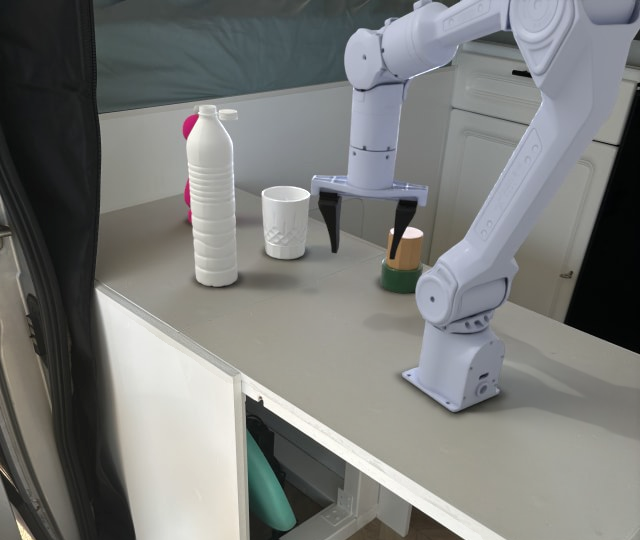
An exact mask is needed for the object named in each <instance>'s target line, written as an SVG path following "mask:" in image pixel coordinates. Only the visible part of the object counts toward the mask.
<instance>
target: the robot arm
mask: <svg viewBox="0 0 640 540" xmlns="http://www.w3.org/2000/svg"><path fill="white" fill-rule="evenodd" d="M501 31H503V32H512V34H513V38H514V40H515V42H516V44H517V46H518V48H519V51H520V54H521V56H522V58H523V60H524V63H525V64H526V66H527V69H528V71H529V74H530V75H531V78H532V80H533V82H534V84H535V85H534V86H535V87H536V88H537V89H538V91H540V95H541V98H542V99H541V100H542V101H541V104H540V106H539V107H538V109H537V112H536V113H535V115H534V116H533V118H532V119H531V122H530V123H529V125H528V127H527V128H526V131H525V132H524V134H523V136H522V137H521V139H520V141H519V142H518V144H517V146H516V147H515V149H514V151H513V153H512V154H511V156H510V158H509V159H508V162H507V163H506V165H505V167H504V168H503V170H502V172H501V174H500V175H499V177H498V179H497V181H496V183H495V184H494V186H493V187H492V189H491V191H490V193H489V194H488V196H487V198H486V199H485V201H484V203H483V204H482V206H481V208H480V209H479V211H478V213H477V215H476V216H475V219H474V220H473V222H472V223H471V225H470V227H469V229H468V230H467V232H466V234H465V236H464V237H463V239H461V240H460V241H459V242H458V243H456V244H455V245H454V246H452V247H451V248H449V249H448V250H447V251H446V252H444V253H443V254H442V255H440V256H439V257H438V259H437V261H435V264H434V265H433V266H432V267H431V268H430V269H428V270H426V271H424V272H422V275H421V276H420V278H419V280H418V282H417V285H416V291H415V303H416V306H417V309H418V311H419V313H420V314H421V318H422V319H423V320H425V323H424V329H423V336H422V341H421V347H420V348H421V349H420V355H419V360H418V366H417V367H414V368H411V369H408V370H406V371H403V372H402V373H401V377H403V378H404V380H406V381H408V382H409V383H411V384H412V385H413V386H415V387H416V388H418V389H419V390H420V391H422V392H423V393H425V394H426V395H427V396H429V397H430V398H432V399H433V400H435V401H436V402H437V403H438V404H440V405H442V406H443V407H444V408H446V409H447V410H449V411H450V412H452V413H457V412H459V411H462V410H465V409H467V408H469V407H471V406H474V405H476V404H478V403H480V402H483V401H485V400H489V399H490V398H492V397H495V396H498V395H499V394H500V392H501V391H500V389H499V388H498V384H499V379H500V375H501V371H502V367H503V364H504V363H503V362H504V359H505V355H506V346H505V343H504V342H503V340H502V339H501V338H499V337H498V336H497V335H496V334H495V333H494V331H493V329H492V328H491V325H490V321H491V320H493V319H494V318H495V317H494V316H495V312H496V309H499V308H501V307H502V306H503V305H505V303H506V302H507V301H508V299H509V297H510V294H511V288H512V284H513V283H512V282H513V280H514V278H515V276H516V275H517V273H519V270H520V267H519V265H518V262H517V261H516V258H515V257H514V256H515V255H516V253H517V252H518V251H519V249H520V247H521V246H522V244H523V243H524V242H525V240H526V239H527V238H528V237H529V234H530V233H531V231H532V230H533V229H534V227H535V225H536V224H537V222H538V221H539V219H540V218H541V217H542V215H543V214H544V212H545V211H546V209H547V208H548V206H549V205H550V204H551V202H552V201H553V199H554V197H555V196H556V194H557V193H558V192H559V190H560V189H561V187H562V186H563V184H564V183H565V181H566V180H567V178H568V177H569V175H570V174H571V173H572V171H573V169H574V168H575V167H576V165H577V164H578V162H579V161H580V159H581V158H582V156H583V155H584V153H585V152H586V151H587V149H588V147H589V146H590V145H591V143H592V142H593V140H594V139H595V137H596V136H597V134H598V133H599V131H600V130H601V128H602V127H603V126H604V124H605V122H606V121H607V120H608V118H609V116H610V115H611V113H612V112H613V109H614V108H615V106H616V104H617V100H618V96H619V92H620V88H621V85H622V79H623V76H624V72H625V68H626V64H627V60H628V57H629V53H630V49H631V44H632V41H633V40H634V38H635V37H636V35H637V34H638V32H639V31H640V0H460V1H459V2H457V3H455V4H453V5H452V6H450V7H448V6H447V5H445V4H443V3H441V2H438V1H433V0H417V1H416V2H414V3H413V10H412V11H411V12H409V13H407V14H405V15H403V16H402V17H389V18H387V19H386V20H384V25H383V26H382V27H380V28H379V29H373V30H372V29H369V28H362V27H361V28H358V29H357V30H356V32H354V33H353V34H352V35H351V36H350V37H349V39H348V40H347V42H346V45H345V50H344V57H343V59H344V60H343V62H344V63H343V64H344V70H345V75H346V78H347V80H348V82H349V83H350V85H351V86H352V87H353V88H352V100H351V101H352V103H351V118H350V133H349V134H350V135H349V146H348V147H349V148H348V164H347V175H316V174H315V175H313V176H312V178H311V182H310V184H311V185H310V196H319V197H318V200H317V206H318V211H320V213H321V215H322V218H323V220H324V223H325V226H326V230H327V233H328V237H329V242H330V248H331V254H337V253H338V251H339V250H340V239H341V235H340V234H341V233H340V231H341V229H340V228H341V227H340V225H341V224H340V223H341V211H342V203H343V202H342V201H343V197H345V198H355V199H363V200H364V199H365V200H376V201H386V202H395V203H397V204H396V208H395V212H394V213H395V214H394V225H393V228H394V234H393V240H392V245H391V250H390V257H389V259H391V260H395V256H396V251H397V248H398V245H399V243H400V240H401V238H402V236H403V234H404V232H405V230H406V228H407V227H409V225H410V223H411V222H412V220H413V219H414V218H415V216H416V213H417V209H418V207H426V206H427V201H428V193H429V186H428V185H422V184H415V183H411V182H410V183H409V182H405V181H400V180H395V179H394V177H395V168H396V160H397V159H396V158H397V151H398V140H399V131H400V121H401V112H402V105H403V104H404V103H405V100H407V96H408V90H409V89H408V88H409V87H410V84H411V83H412V81H413V79H414V78H415V77H417V76H419V75H422V74H425V73H427V72H430V71H433V70H435V69H438V68H440V67H443V66H445V65H447V64H449V63H450V62H451V61H452V60H453V59H454V58H455V56H456V54H457V51H458V49H459V46H460V45H463V44H465V43H469V42H471V41H474V40H477V39H480V38H483V37H486V36H489V35H492V34H494V33H497V32H501Z"/></svg>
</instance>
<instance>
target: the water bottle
mask: <svg viewBox="0 0 640 540" xmlns="http://www.w3.org/2000/svg"><path fill="white" fill-rule="evenodd" d="M199 105H200V106H199V111H200V112H198V114H199V118H198V120H197V122H196V124H195V125H194V127H193V129H192V131H191V133H190V134H189V136H188V139H187V140H186V144H185V145H186V147H185V150H186V158H187V167H188V168H187V171H188V177H189V184H190V196H191V198H190V201H191V212H192V224H191V226H192V237H193V241H192V242H193V250H194V254H193V255H194V262H195V263H194V269H195V270H194V271H195V279H196V281H197V282H198V283H199V284H202V285H203V286H206V287H211V286H212V287H214V288H215V287H216V288H217V287H218V288H219V287H220V288H221V287H224V286H229V285H232V284H234V283H235V282H236V281H237V280H238V277H239V276H238V273H239V272H238V263H237V261H238V253H237V238H236V235H237V228H236V224H237V221H236V219H237V218H236V214H235V213H236V199H235V173H234V172H235V170H234V144H233V140H232V138H231V136H230V135H229V133H228V131H227V130H226V128H225V127H224V125H223V124H222V122H221V121H224V122H233V121H238V119H239V117H238V116H239V115H238V113H239V112H238V110H236V109H230V108H223V109H219V110H217V106H216V105H214V104H199ZM220 120H221V121H220Z"/></svg>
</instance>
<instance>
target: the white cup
mask: <svg viewBox="0 0 640 540" xmlns="http://www.w3.org/2000/svg"><path fill="white" fill-rule="evenodd" d="M310 199H311V193H310V192H309V191H308V190H306V189H304V188H302V187H296V186H290V185H289V186H288V185H279V186H271V187H267V188H265V189H262V191H261V208H262V224H263V237H264V248H265V249H264V250H265V253H266V255H268V256H269V257H271V258H275V259H279V260H294V259H298V258H300V257H303V256H304V254H305V253H306V239H307V235H308V223H309V212H310V211H309V210H310Z"/></svg>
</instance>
